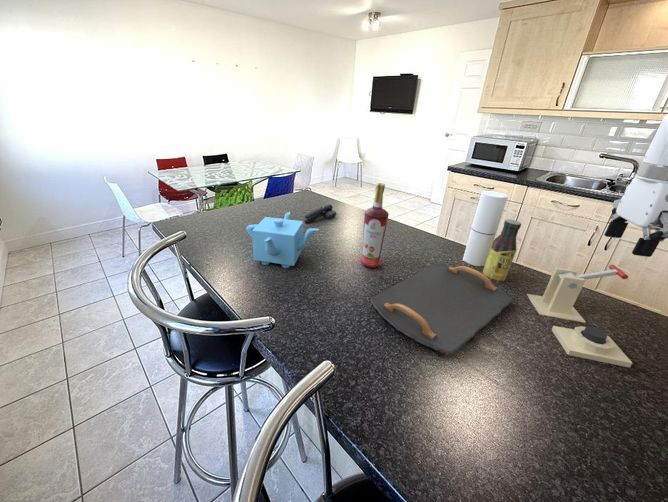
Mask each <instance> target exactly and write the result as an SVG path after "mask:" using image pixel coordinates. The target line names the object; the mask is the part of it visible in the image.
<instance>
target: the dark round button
mask: <svg viewBox="0 0 668 502" xmlns="http://www.w3.org/2000/svg"><path fill="white" fill-rule="evenodd" d="M585 327H586V328H585V329H584V331H583V333H582V335H583V336H584V337H585V338H587V339H588V340H590V341H592V342H594V343H598V344H603V343H604V342H605V340H606V338H607V336H608V335H607V333H605V332H604V331H603V330H601V329H599V328H597V327H593V326H585Z"/></svg>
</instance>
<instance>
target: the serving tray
mask: <svg viewBox="0 0 668 502" xmlns="http://www.w3.org/2000/svg"><path fill="white" fill-rule="evenodd" d="M370 302H371V304H372V306H373V309H374V311H375V312H376V313H378V314H379V315H380V316H381V317H382V318H383V319H384V320H385V321H387V322H388V323H389V324H390V325H391V326H392V327H393V328H394V329H396V330H397V331H398V332H400V333H402V334H403V335H405V336H406V337H409V338H410V339H412V340H414V341H416V342H417V343H419V344H421V345H423V346H425V347H428V348H430V349H432V350H435V351H436V354H437V356H438V357H440V358H444V357H446V356H447V355H453V354H455V353H456V352H458V351H459V350H460V349H461V348H462V347H463V346H464V345H466V344H467V343H468V342H469V341H470V340H472V339H474V338H475V336H476V335H477V333H479V331H481V330H482V329H484V328H485V327H487V326H488V325H489V324H490V323H491V322H492V321H493V320H494V319H495V318H497V317H498V316H500V315H501V314H502V311H504V310H506V308H507V307H508V306H510V305H511V303H513V302H514V297H512V296H511V295H510V294H509V293H507V292H505V291H504V290H503V289H502V288H500V287H498V286H497V285H496V284H494V283H493V282H491V281H490V279H489V278H488V277H487V276H485V275H484V274H483V272H482V271H478V270H477V269H474V268H471V267H468V266H466V265H459V266H451V265H447V264H443V263H435V264H432V265H431V266H429V267H427V268H425V269H423V270H421V271H419V272H418V273H416V274H414V275H411V276H409V277H408V278H406V279H404V280H402V281H401V282H398V283H397V284H394V285H393V286H391V287H389V288H387V289H385V290H383V291H381V292H380V293H378V294H376V295H374V296H373V297H371V299H370Z"/></svg>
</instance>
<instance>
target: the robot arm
mask: <svg viewBox="0 0 668 502" xmlns="http://www.w3.org/2000/svg"><path fill="white" fill-rule="evenodd" d="M609 219H610V222H609V224H608V226H607V228H606V230H605V232H604V236H605V237H607V238H616V239H621V238H623V235H624V233H625V231H626V229H627V227H628V226H629V223H631V224H633V225H635V226H637V227H639V228H642V237H639V238H638V240H637V242H636V244H635V245H634V247H633V249H632V251H631V254H632V255H634V256H637V257H646V258H647V257H648V258H651V257H652V256H653V254H654V253H655V251H656V249H657V248H658V246H659V244H660V243H661V242H662V243H663V242H664V241H665V240H666V239H668V113H667V114H666V115H664V117H663V118H662V120H661V122H660V124H659V126H658V128H657V130H656V133H655V134H654V136H653V138H652V140H651V142H650V145H649V147H648V148H647V151H646V153H645V155H644V157H643V159H642V161H641V162H640V165H639V167H638V169H637V171H636V173H635V175H634V178H632V180H631V181H630V183H629V185H627V187H626V189H625V191H624V193H623V195H622V196H621V197H620V198H619V199H615V200H614V201H613V206H612V209H611V216H610V218H609ZM652 231H654V232H652Z"/></svg>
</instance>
